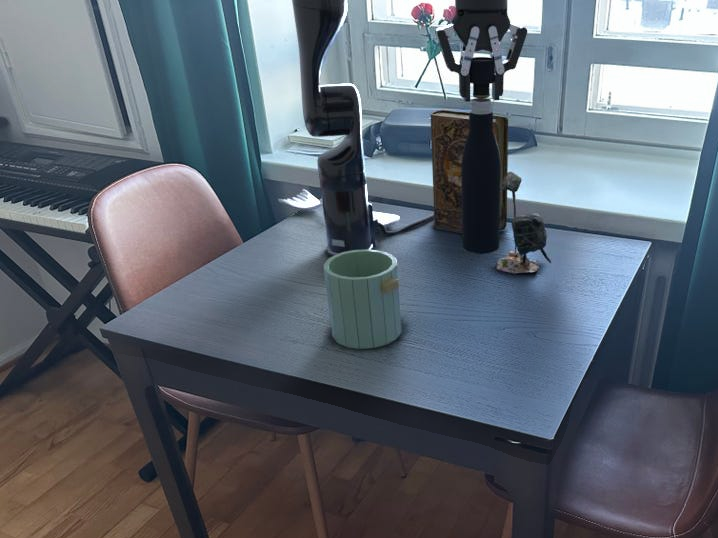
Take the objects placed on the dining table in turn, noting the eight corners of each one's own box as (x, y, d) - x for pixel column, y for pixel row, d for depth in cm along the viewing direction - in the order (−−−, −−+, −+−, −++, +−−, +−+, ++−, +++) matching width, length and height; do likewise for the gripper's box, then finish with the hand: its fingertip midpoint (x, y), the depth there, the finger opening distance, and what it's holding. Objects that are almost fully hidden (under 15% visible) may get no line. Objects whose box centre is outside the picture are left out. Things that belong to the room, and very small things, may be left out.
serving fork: (304, 200, 175) (302, 187, 173) (408, 224, 161) (407, 210, 159) (278, 211, 169) (276, 197, 167) (383, 237, 154) (382, 222, 153)
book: (431, 227, 159) (426, 114, 146) (442, 219, 164) (438, 109, 150) (496, 239, 154) (498, 122, 140) (506, 230, 158) (509, 116, 145)
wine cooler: (363, 306, 126) (357, 242, 120) (420, 330, 119) (417, 263, 112) (313, 331, 119) (303, 264, 112) (371, 358, 111) (364, 288, 105)
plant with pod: (538, 282, 135) (543, 180, 124) (487, 270, 140) (488, 171, 129) (556, 267, 141) (562, 169, 130) (507, 256, 146) (509, 160, 135)
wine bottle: (495, 255, 117) (498, 63, 101) (458, 252, 118) (455, 61, 102) (502, 241, 122) (506, 56, 106) (466, 238, 123) (465, 54, 107)
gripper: (523, -30, 102) (519, 93, 112) (427, -29, 100) (431, 96, 109) (537, -27, 96) (532, 103, 105) (435, -26, 94) (439, 107, 103)
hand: (481, 99), depth 107 cm, fingers closed on wine bottle, 4 cm apart
